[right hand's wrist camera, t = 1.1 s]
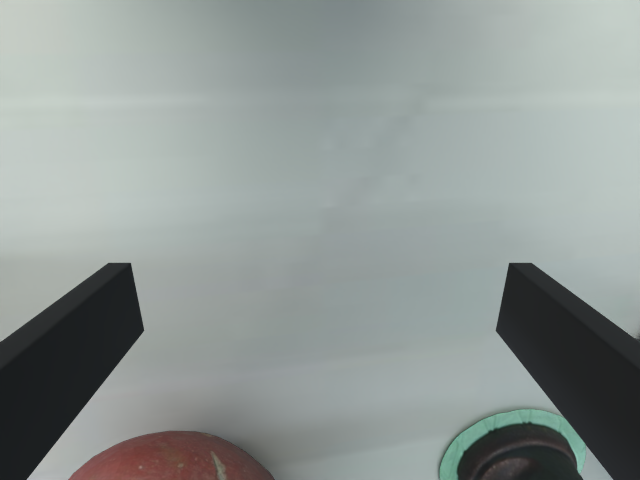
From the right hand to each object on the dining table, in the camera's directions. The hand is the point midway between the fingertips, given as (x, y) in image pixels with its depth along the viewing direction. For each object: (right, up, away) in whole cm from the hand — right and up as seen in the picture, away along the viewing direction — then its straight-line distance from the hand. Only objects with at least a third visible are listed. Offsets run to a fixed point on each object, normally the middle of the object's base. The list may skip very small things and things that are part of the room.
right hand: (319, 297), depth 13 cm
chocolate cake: (+27, -29, +37) cm, 54 cm away
